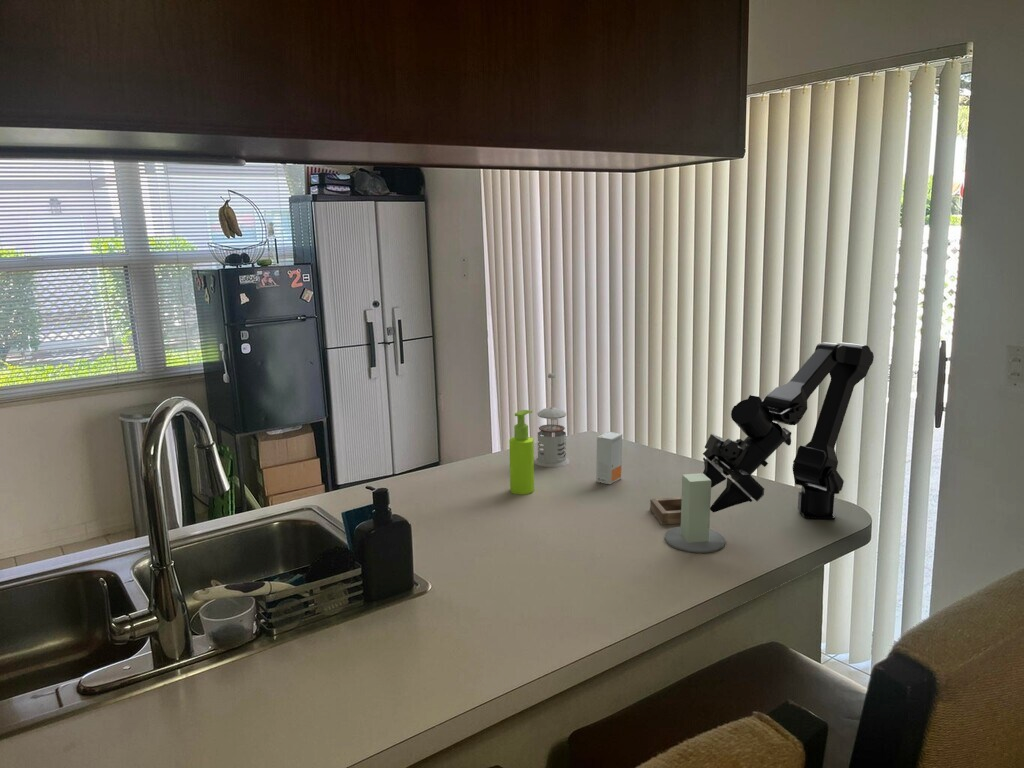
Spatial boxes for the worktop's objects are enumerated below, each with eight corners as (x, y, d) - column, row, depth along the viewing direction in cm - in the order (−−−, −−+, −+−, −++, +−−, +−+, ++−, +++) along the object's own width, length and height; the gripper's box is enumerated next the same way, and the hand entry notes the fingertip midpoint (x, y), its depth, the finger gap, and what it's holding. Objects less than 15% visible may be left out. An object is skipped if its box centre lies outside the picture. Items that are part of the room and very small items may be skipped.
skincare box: (610, 485, 182) (611, 439, 179) (595, 482, 184) (596, 436, 182) (622, 478, 187) (622, 433, 184) (607, 475, 189) (608, 431, 187)
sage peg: (700, 532, 151) (703, 473, 149) (708, 541, 147) (711, 480, 144) (680, 533, 151) (682, 474, 148) (688, 542, 146) (690, 481, 144)
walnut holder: (687, 506, 167) (687, 496, 166) (701, 521, 158) (701, 511, 158) (650, 509, 166) (650, 498, 165) (662, 524, 157) (662, 513, 157)
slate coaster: (720, 529, 154) (720, 527, 154) (728, 554, 142) (728, 551, 142) (663, 527, 156) (663, 524, 156) (666, 551, 144) (666, 548, 144)
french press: (532, 466, 198) (530, 376, 192) (537, 453, 209) (536, 368, 204) (568, 467, 196) (567, 377, 191) (571, 454, 207) (571, 368, 202)
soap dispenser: (540, 487, 181) (539, 410, 177) (526, 496, 176) (524, 416, 171) (520, 483, 184) (519, 407, 180) (505, 492, 179) (504, 413, 174)
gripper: (713, 410, 154) (662, 462, 155) (751, 434, 136) (692, 494, 137) (747, 443, 156) (696, 495, 157) (789, 471, 138) (731, 530, 139)
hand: (702, 502), depth 148 cm, fingers open, 9 cm apart
